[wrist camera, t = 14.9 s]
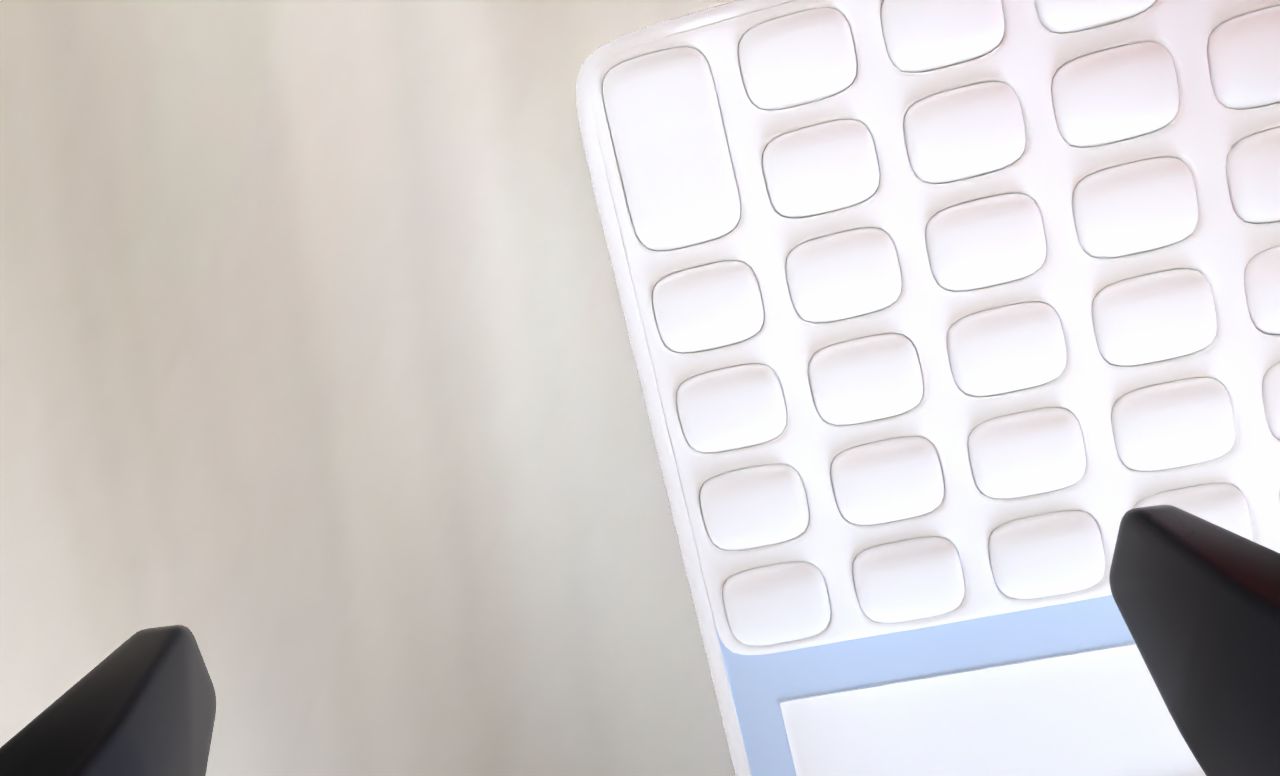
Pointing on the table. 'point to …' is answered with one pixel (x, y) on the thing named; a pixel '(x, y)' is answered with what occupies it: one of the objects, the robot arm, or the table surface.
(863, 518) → the calculator
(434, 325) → the table surface
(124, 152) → the table surface
